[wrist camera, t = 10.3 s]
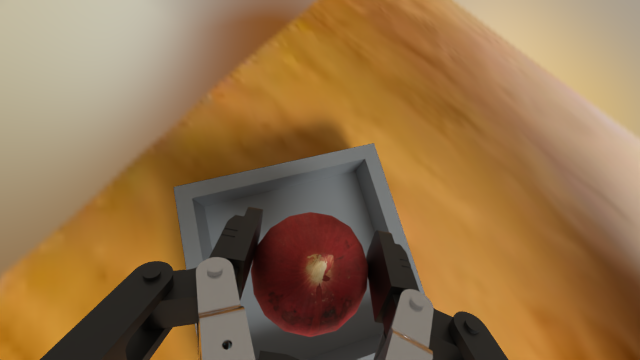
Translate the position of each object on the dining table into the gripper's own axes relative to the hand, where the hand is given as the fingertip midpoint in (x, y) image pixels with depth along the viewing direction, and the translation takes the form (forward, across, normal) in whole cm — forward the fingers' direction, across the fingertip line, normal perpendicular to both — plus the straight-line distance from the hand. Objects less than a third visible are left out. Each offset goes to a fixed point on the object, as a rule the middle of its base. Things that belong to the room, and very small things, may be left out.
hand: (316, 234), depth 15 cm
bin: (+5, 0, +7) cm, 9 cm away
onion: (+2, 0, +4) cm, 5 cm away
